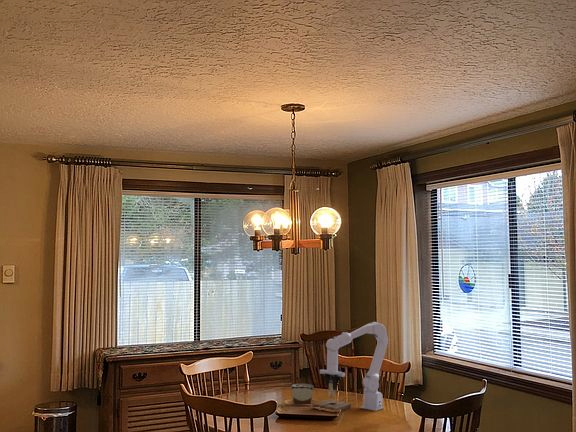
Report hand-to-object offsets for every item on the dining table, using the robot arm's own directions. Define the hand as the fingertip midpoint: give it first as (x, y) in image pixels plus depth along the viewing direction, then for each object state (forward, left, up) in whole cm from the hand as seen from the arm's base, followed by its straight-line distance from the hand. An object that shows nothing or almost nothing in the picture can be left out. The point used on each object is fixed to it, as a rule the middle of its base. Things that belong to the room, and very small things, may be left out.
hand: (332, 389), depth 309 cm
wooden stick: (0, 0, -4) cm, 4 cm away
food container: (+18, +1, -10) cm, 21 cm away
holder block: (0, 0, -10) cm, 10 cm away
